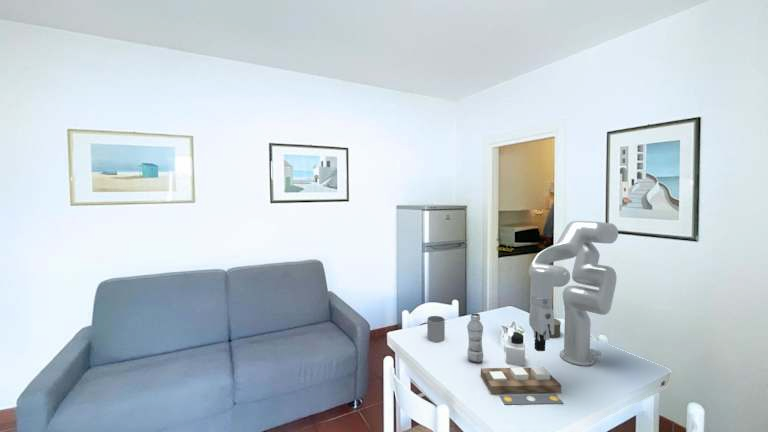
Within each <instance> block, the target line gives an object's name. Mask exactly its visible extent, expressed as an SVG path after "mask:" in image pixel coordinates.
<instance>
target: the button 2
mask: <svg viewBox="0 0 768 432" xmlns="http://www.w3.org/2000/svg"><path fill="white" fill-rule="evenodd" d="M530 368H531V374H532V375H533V377H534V378H535V379H536V380H550V374H551V373H550V372H549V371H548V370H547V369H546V368H545V367H543V366H542V367H540V366H539V367H537V366H536V367H534V366H533V367H530ZM548 372H549V373H550V374H549V373H548Z"/></svg>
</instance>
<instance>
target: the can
mask: <svg viewBox="0 0 768 432" xmlns="http://www.w3.org/2000/svg"><path fill="white" fill-rule="evenodd" d="M561 323H562V322H561V321H560V320H559V319H556V318H555V317H554V335H550V334H549V338H550V339H558V338H559V339H560V336H561Z"/></svg>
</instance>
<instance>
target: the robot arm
mask: <svg viewBox="0 0 768 432" xmlns="http://www.w3.org/2000/svg"><path fill="white" fill-rule="evenodd" d="M618 237H619V230H618V227H617V226H616V225H615V224H613V223H611V222H610V223H609V222H602V221H591V220H590V221H588V220H573V221H570V222H569V223H567V224H566V226H565V228H564V229H563V231H562V233H561V235H560V236H559V238H558V240H557V242H556V243H555V244H552V245H550V246H548V247H546V248H545V249H542V250H541V251H540V252H538V253H537V254H536V255H535V257H534V258H533V259H532V261H531V263H530V266H529V268H528V277H529V279H530V289H529V291H530V292H529V305H530V307H529V316H528V318H529V319H528V322H529V323H528V324H529V327H531V329H532V331H533V338H534V350H535V351H537V352H545V351H546V342H547V341H550V339H551V338H549V334H550V335H554V318H555V314H554V309H553V305H554V303H553V301H554V288H555V287H556V288H558V287H559V288H560V287H564V286H565V287H564V288H563V291H562V301H563V307H564V333H563V334H564V336H563V344H564V345H563V349H562V350H560V352H559V356H560V358H561V359H562V360H564V361H566V362H567V363H570V364H573V365H577V366H585V367H587V366H592V365H593V364H594V363H595V359H594V357H595V356H597V357H598V356H599V357H600V356H602V352H601V351H600V350H595V349H594V348H591V326H592V325H591V318H590V316H589V314H588V312H589V313H593V314H596V315H600V316H601V315H603V316H605V315H607V314H609V313H610V311H611V309H612V305H613V301H614V300H613V299H614V295H615V291H616V285H617V273H616V270H615V269H614V268H613V267H611V266H610V265H609V266H608V265H604V264H599V261H600V257H601V255H600V252H599V250H598V249H597V246H595V245H594V243H597V244H610V245H611V244H613V243H615V242H616V241H617V239H618ZM573 258H575V260H574V264H573V268H572V272H571V273H572V274H570V271H569V270H568V269H567V268H565V267H563V266H560V265H554V264H551V263H554V262H559V261H564V260H570V259H573ZM571 278H572V281H573V282H575V283H577V284H581V285H584V286H585V287H584V286H579V285H568V283H569V282H570V280H571ZM566 285H568V286H566ZM586 286H590V287H595V288H598V289H593V288H589V287H586Z"/></svg>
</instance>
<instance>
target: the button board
mask: <svg viewBox="0 0 768 432" xmlns="http://www.w3.org/2000/svg"><path fill="white" fill-rule="evenodd" d="M510 368H511V367H492V368H491V367H489V368H488V367H487V368H486V367H484V368H483V367H482V368H480V378H481V379H482V380H483V382H484V384H485V386H486V388H487V390H488V392H489V393H490V394H491V395H545V394H562V384H561V383H560V382H559V381H558V380H557V379H556V378H555V377H554V376H553V375H552V374H551V373H550V372H549V371H548V373H549V374H550V380H536V379H535V378H534V377H533V375H532V374H531V367H522V368H523V369H524V370H525V371H526V372H527V373H528V380H514V379H513V377H512V376H511V375H510ZM493 371H502V373H503V374H504V375H505V377H506V378H507V381H493V380H492V378H491V377H490V375H489V372H493Z"/></svg>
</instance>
